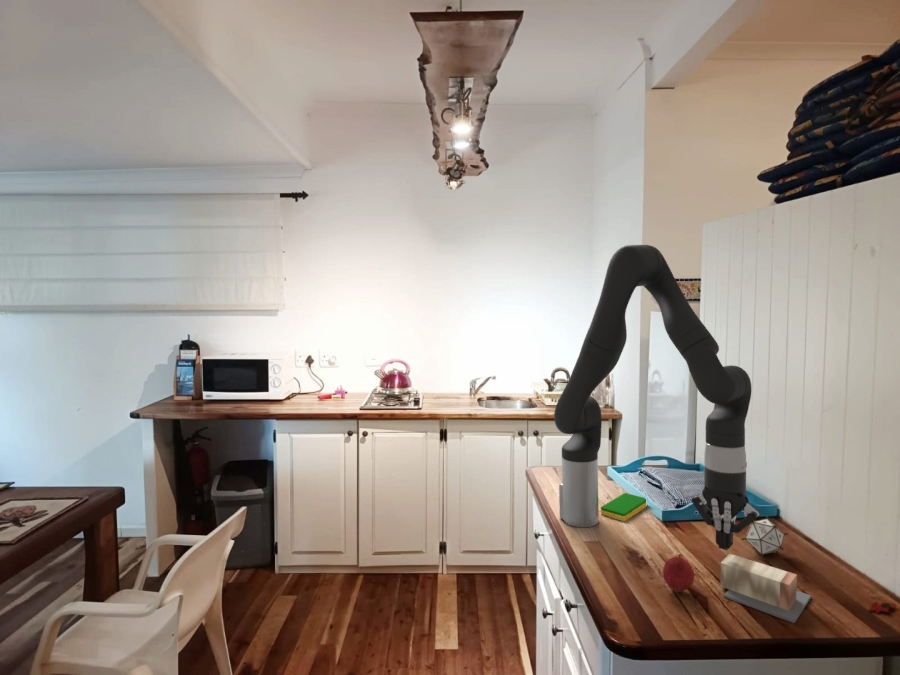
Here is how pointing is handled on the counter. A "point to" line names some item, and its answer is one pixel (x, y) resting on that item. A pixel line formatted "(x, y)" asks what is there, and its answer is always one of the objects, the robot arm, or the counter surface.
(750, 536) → the game die
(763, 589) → the beech block
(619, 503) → the dish sponge
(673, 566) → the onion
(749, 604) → the mat
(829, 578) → the counter surface
